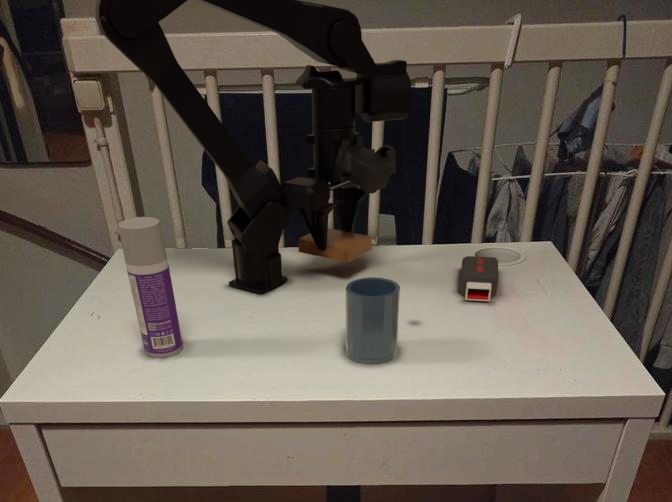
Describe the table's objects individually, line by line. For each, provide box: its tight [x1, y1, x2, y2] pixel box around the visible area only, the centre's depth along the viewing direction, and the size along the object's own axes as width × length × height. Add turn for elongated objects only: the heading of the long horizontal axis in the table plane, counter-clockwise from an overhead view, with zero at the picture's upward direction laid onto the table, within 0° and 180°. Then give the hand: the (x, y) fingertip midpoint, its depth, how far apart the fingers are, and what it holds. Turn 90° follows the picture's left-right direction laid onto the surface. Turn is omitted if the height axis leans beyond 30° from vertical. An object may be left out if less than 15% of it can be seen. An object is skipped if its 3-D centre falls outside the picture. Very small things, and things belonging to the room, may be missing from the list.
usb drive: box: [458, 255, 499, 302], centre depth 89 cm, size 5×12×3 cm, turn 167°
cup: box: [345, 276, 401, 365], centre depth 72 cm, size 6×6×8 cm
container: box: [117, 216, 184, 359], centre depth 72 cm, size 5×5×15 cm
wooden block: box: [297, 227, 373, 263], centre depth 93 cm, size 9×6×2 cm
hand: (335, 244), depth 93 cm, fingers closed on wooden block, 6 cm apart
